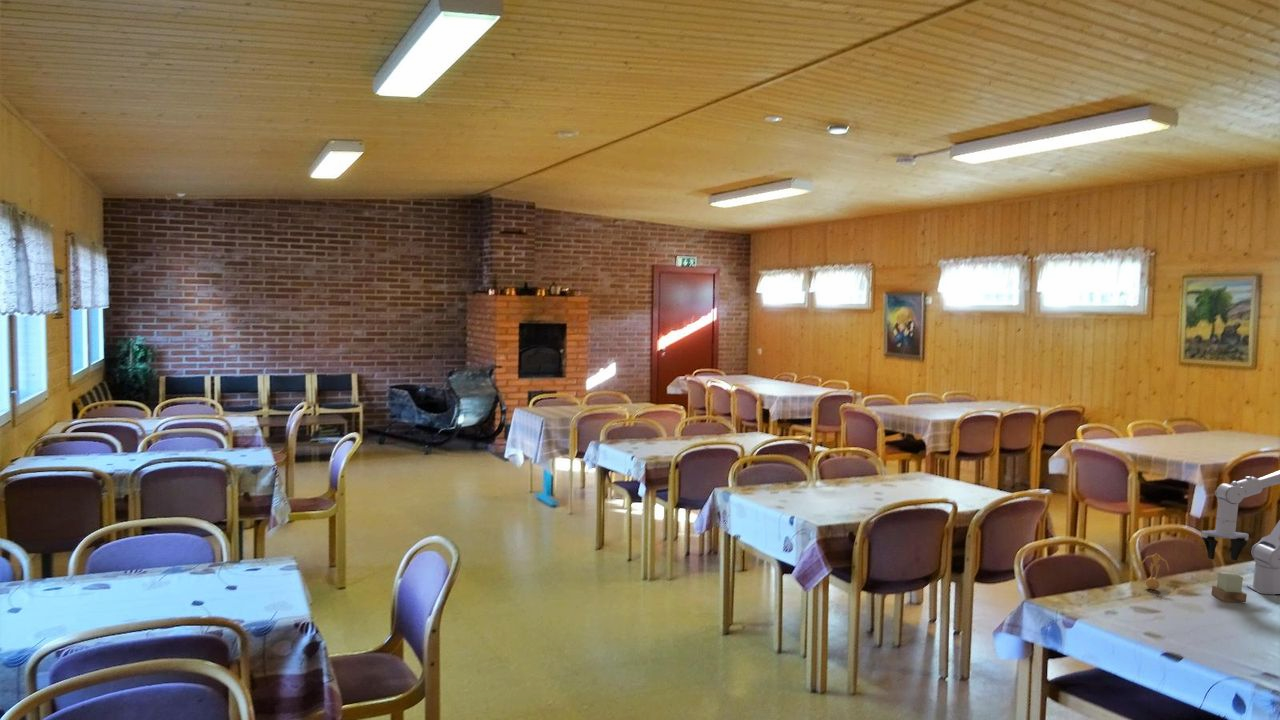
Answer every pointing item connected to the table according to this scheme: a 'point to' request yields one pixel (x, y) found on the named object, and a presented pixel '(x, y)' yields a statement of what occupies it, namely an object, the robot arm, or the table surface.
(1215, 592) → the walnut block
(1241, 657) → the table surface
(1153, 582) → the figurine
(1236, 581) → the sage cube
